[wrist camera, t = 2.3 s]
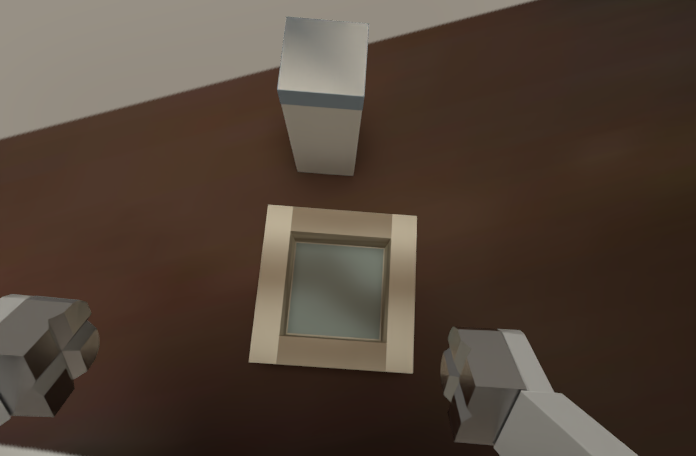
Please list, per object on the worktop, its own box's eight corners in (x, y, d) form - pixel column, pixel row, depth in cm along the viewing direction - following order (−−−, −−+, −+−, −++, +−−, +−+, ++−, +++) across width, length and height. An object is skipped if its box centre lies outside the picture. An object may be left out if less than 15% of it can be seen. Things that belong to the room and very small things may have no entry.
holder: (401, 366, 25) (412, 373, 21) (260, 356, 25) (248, 362, 21) (406, 229, 27) (417, 216, 23) (276, 219, 27) (268, 204, 23)
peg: (353, 176, 28) (364, 96, 18) (297, 172, 28) (277, 89, 18) (357, 125, 29) (369, 23, 19) (302, 120, 29) (286, 16, 19)
